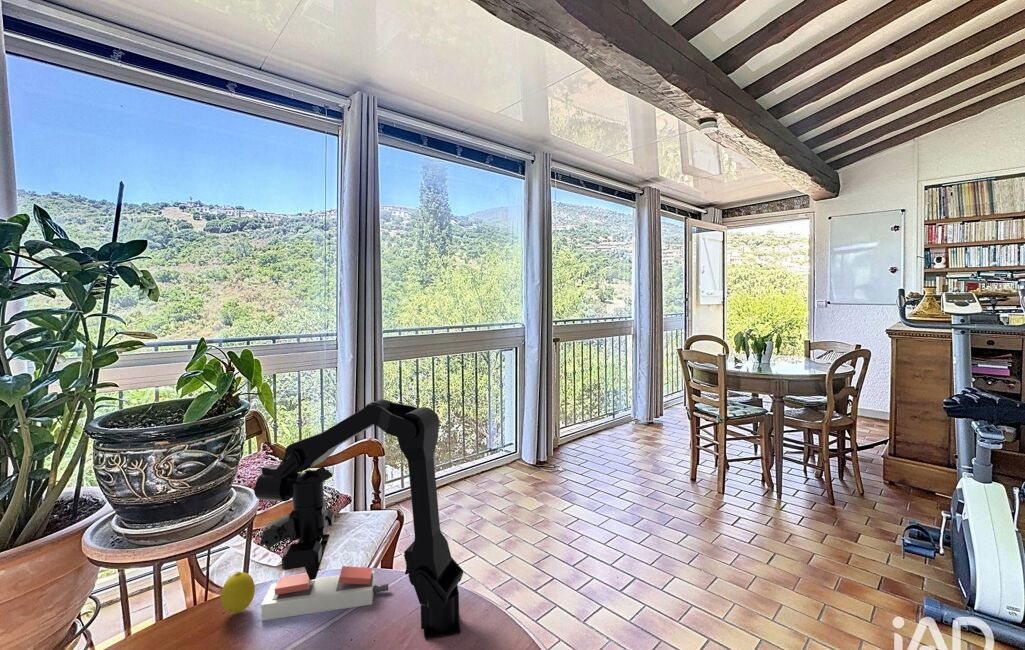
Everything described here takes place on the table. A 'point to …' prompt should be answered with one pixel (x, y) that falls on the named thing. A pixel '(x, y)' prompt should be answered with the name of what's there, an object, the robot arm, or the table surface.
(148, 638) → the table surface
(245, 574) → the lemon
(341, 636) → the table surface
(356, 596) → the power strip
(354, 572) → the block
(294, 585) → the block
